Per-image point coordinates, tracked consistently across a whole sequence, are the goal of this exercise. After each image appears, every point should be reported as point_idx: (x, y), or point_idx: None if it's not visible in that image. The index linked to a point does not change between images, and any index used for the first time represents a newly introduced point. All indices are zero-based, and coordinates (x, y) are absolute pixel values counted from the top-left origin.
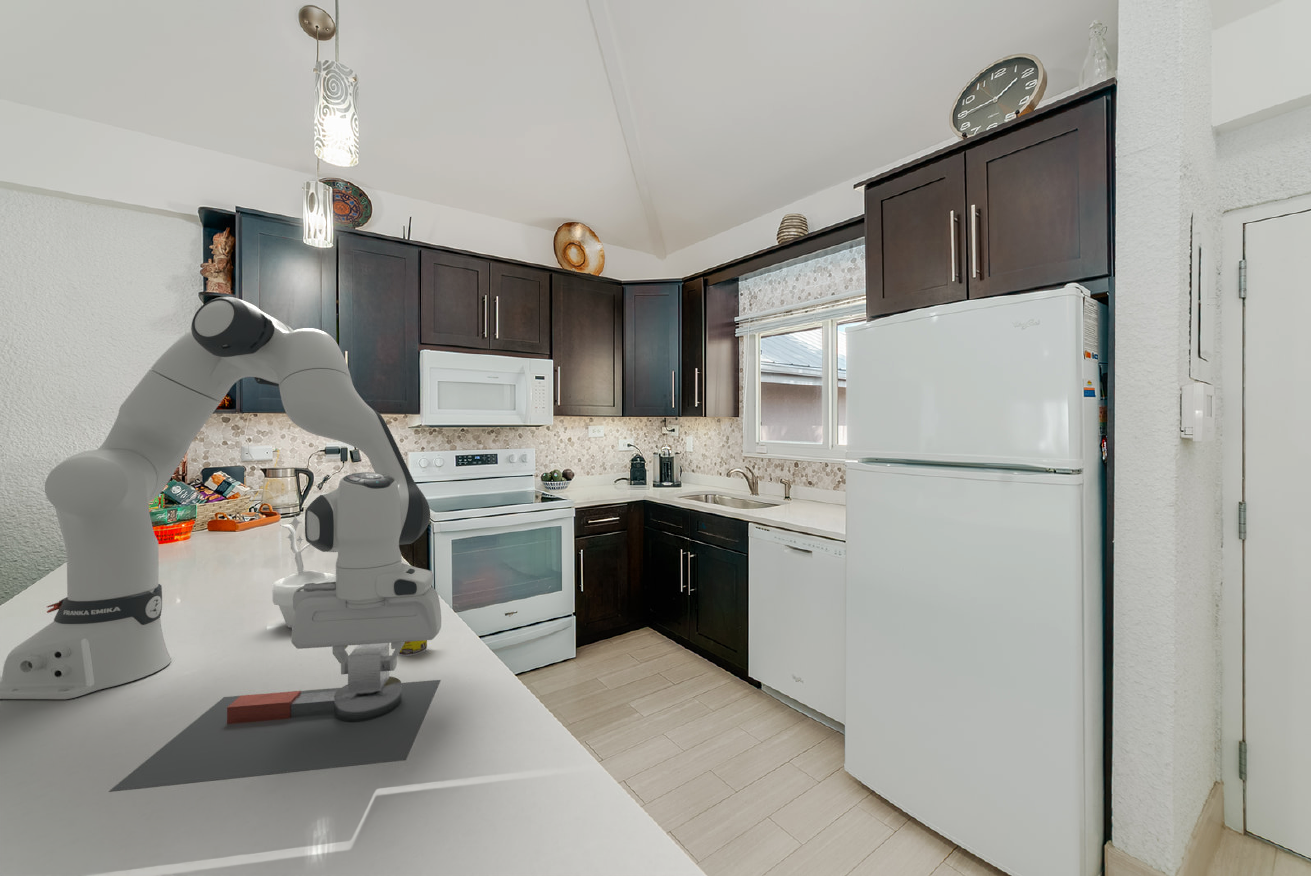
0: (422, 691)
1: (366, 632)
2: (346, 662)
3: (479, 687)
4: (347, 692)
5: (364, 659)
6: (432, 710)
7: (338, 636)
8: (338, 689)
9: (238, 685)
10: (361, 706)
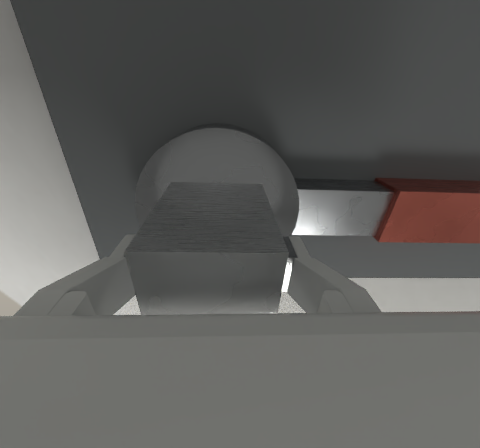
0: (122, 238)
1: (183, 408)
2: (292, 264)
3: (9, 244)
4: None
5: (208, 239)
6: (66, 163)
7: (405, 376)
8: None
9: (451, 311)
10: (209, 128)
